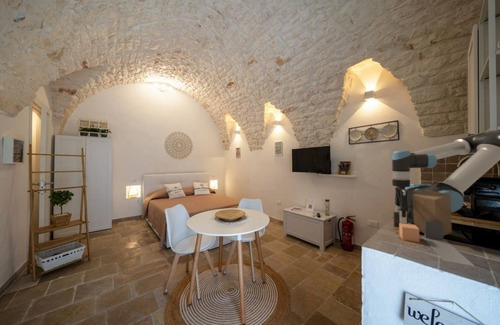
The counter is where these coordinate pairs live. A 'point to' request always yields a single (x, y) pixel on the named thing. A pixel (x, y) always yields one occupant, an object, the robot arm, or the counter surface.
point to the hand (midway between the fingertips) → (401, 220)
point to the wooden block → (432, 209)
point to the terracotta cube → (409, 232)
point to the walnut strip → (396, 229)
